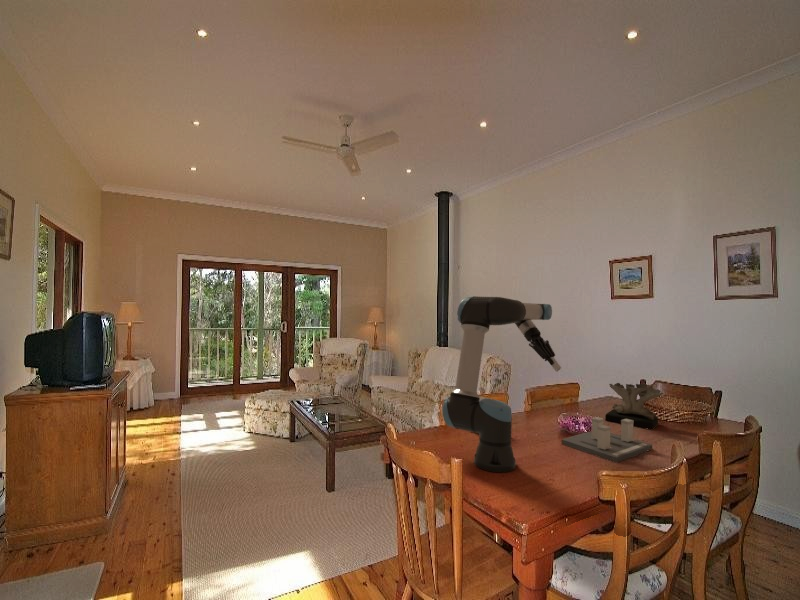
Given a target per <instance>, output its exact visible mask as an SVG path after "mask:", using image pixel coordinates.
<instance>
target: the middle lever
mask: <svg viewBox="0 0 800 600" xmlns="http://www.w3.org/2000/svg"><path fill="white" fill-rule="evenodd" d="M590 421H591V431H592V438H593V439H596V440H598V429H597V426H601V425H605V424H604V422H605V418H602V417H600V416H596V417H591V420H590Z"/></svg>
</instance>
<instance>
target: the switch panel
mask: <svg viewBox="0 0 800 600" xmlns="http://www.w3.org/2000/svg"><path fill="white" fill-rule="evenodd" d="M560 442H561V445H564V446H566V447H569V448H571V449H576V450H579V451H580V452H583V453H586V452H588V453H587V454H589V453H591V454H590V455H592V454H594V455H593V456H595V455H597V456H596V457H598V456H600V457H599V458H601V457H602V459H604V458H605V459H604V460H607V459H608V460H607V461H610V460H611V461H610V462H613V461H614V462H613V463H616V462H617V463H619V461H620V462H622V461H624V460H628V459H630V458H633V457H635V456H638V454H639V455H641V454H644V453H646V452H645V451H647V450H649V451H651V450H650V449H652V450H653V443H648V442H645V441H641V440H639V439H638V440H637V439H634V438H633V441H630V442H626V441H623V440H621V435H619V434H616V433H613V432H610V448H609V449H606V450H604V449H600V448H597V444H598V440H596V439H593V438H592V430H590V431H587V432H582V433H579V434H576V435H572V436H569V437H565V438H561V441H560ZM643 452H644V453H643ZM647 452H648V451H647ZM640 453H641V454H640Z"/></svg>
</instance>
